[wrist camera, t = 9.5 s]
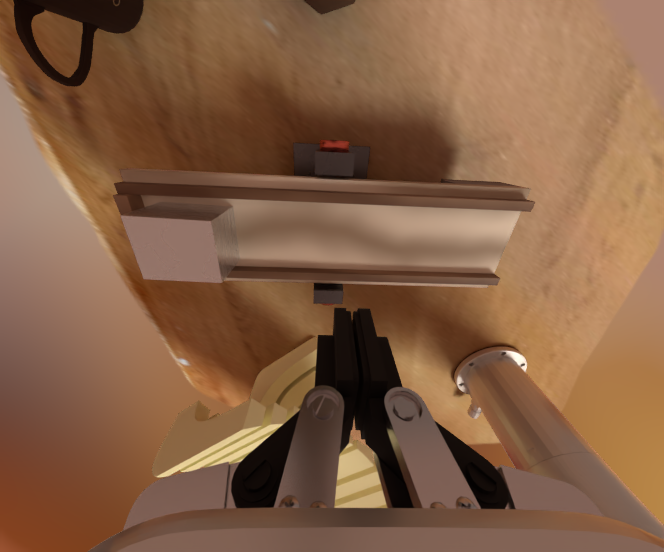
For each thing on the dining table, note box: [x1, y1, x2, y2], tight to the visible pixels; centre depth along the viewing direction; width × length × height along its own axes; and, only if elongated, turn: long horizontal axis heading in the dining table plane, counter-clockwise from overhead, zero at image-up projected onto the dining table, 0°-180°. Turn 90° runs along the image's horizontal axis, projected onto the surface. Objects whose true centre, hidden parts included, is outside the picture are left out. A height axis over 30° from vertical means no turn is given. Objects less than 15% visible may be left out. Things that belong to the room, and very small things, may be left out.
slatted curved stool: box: [152, 336, 387, 508], centre depth 36 cm, size 30×16×18 cm, turn 38°
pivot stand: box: [294, 140, 370, 305], centre depth 25 cm, size 16×8×9 cm, turn 177°
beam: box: [113, 168, 535, 288], centre depth 23 cm, size 10×34×6 cm, turn 87°
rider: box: [120, 202, 240, 283], centre depth 19 cm, size 5×6×4 cm
